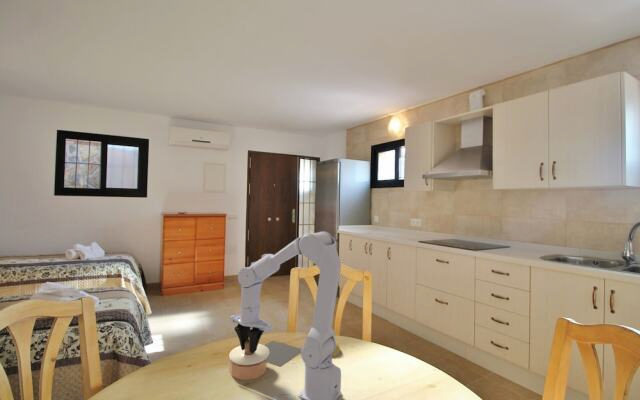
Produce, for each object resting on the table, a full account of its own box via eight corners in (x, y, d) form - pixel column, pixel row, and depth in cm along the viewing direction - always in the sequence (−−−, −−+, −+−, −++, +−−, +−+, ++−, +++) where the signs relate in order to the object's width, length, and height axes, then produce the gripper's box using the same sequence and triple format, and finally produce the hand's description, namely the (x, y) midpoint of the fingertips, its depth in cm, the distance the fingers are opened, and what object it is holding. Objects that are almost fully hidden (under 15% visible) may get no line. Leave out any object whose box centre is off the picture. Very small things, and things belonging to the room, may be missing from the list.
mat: (304, 351, 114) (304, 349, 114) (280, 367, 102) (280, 366, 102) (272, 341, 121) (272, 340, 121) (246, 356, 109) (246, 354, 109)
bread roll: (327, 360, 108) (328, 348, 108) (310, 351, 115) (311, 339, 115) (345, 353, 114) (345, 342, 114) (327, 344, 121) (328, 334, 121)
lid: (277, 351, 102) (277, 338, 102) (251, 369, 92) (251, 355, 92) (247, 342, 108) (247, 329, 108) (220, 358, 98) (220, 344, 98)
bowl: (273, 368, 102) (273, 355, 102) (249, 384, 92) (249, 370, 92) (247, 359, 107) (247, 347, 107) (222, 373, 98) (222, 360, 98)
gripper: (277, 306, 100) (275, 351, 100) (242, 298, 107) (240, 339, 107) (262, 313, 94) (260, 360, 93) (225, 303, 101) (224, 347, 101)
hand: (248, 350), depth 100 cm, fingers closed on lid, 3 cm apart
